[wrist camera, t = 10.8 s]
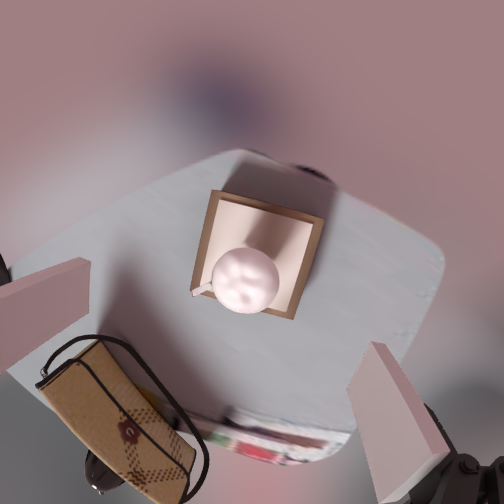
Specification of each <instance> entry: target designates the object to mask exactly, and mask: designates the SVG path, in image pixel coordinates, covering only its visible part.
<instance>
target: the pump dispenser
mask: <svg viewBox="0 0 504 504" xmlns="http://www.w3.org/2000/svg"><path fill="white" fill-rule="evenodd" d="M84 473H85V478H86V481H87V482H88V484H89V485H90V486H91V487H92V488H94V489H96V490H98V493H99V494H100V495H103V494H104V492H108V491H111V490H113V489H116V488H118V487H119V486H121V485H122V484H123V483H125V482H126V481H125V480H124V479H123V478H121V477H120V476H119V475H118V474H116V473H115V472H114V471H113V470H112V469H111V468H109V467H108V466H107V465H106V464H105V463H104V462H103V461H102V460H100V459H99V458H98V457H97V456H96V455H95V454H94V453H93V452H92V451H91V450H90V449H88V452H87V456H86V460H85V466H84Z"/></svg>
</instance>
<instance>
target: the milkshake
mask: <svg viewBox="0 0 504 504" xmlns="http://www.w3.org/2000/svg"><path fill="white" fill-rule="evenodd" d="M279 284H280V280H279V273H278V270H277V267H276V265H275V263H274V258H273V255H272V253H271V250H270V248H269V246H268V245H266V244H265V243H263V242H261V241H260V240H256V241H247V242H246V243H244V244H243V245H241V246H239V247H237V248H235V249H232V250H230V251H228V252H226V253H225V254H224V255H223V256H222V257H221V258H220V259H219V260H218V261H217V262H216V264H215V265H214V267H213V270H212V277H211V281H210V282H208V283H206V284H204V285H202V286H199V287H197V288H195V289H193V290H192V297H195V296H197V295H199V294H201V293H203V292H205V291H206V290H208V289H210V288H212V287H213V291H214V293H215V296H216V297H217V299H218V300H219V301H220V302H221V303H222V304H223V305H224V306H225V307H227V308H228V309H230V310H232V311H235V312H238V313H256V312H260V311H262V310H264V309H266V308H267V307H268V306H269V305H270V304H271V303H272V301H273V300H274V298H275V297H276V295H277V293H278V290H279Z"/></svg>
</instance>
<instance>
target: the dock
mask: <svg viewBox="0 0 504 504" xmlns="http://www.w3.org/2000/svg"><path fill="white" fill-rule="evenodd" d="M324 221H325V219H322V218H320V217H317V216H314V215H310V214H307V213H303V212H300V211H296V210H293V209H289V208H286V207H282V206H278V205H275V204H271V203H267V202H263V201H260V200H256V199H252V198H248V197H244V196H240V195H236V194H232V193H228V192H224V191H219V190H212V192H211V196H210V200H209V204H208V208H207V212H206V217H205V221H204V225H203V230H202V234H201V238H200V243H199V248H198V252H197V257H196V262H195V267H194V271H193V276H192V281H191V287H190V291H192V290H193V289H195V288H197V287H199V286H202V285H204V284H206V283H208V282H210V281H211V277H212V270H213V267H214V265H215V264H216V262H217V261H218V260H219V259H220V258H221V257H222V256H223V255H224V254H225V253H226V252H228V251H230V250H232V249H235V248H237V247H239V246H241V245H243V244H244V243H246V242H247V241H256V240H260V241H261V242H263V243H265V244H266V245H268V246H269V248H270V250H271V253H272V255H273V258H274V263H275V265H276V267H277V270H278V273H279V280H280V284H279V290H278V293H277V295H276V297H275V298H274V300H273V301H272V303H271V304H270V305H269V306H268V307H267V308H266V309H264V310H262V311H260V312H264V313H268V314H272V315H276V316H279V317H283V318H287V319H291V320H293V319H294V316H295V313H296V310H297V308H298V305H299V302H300V299H301V296H302V293H303V290H304V287H305V283H306V280H307V277H308V274H309V271H310V268H311V265H312V261H313V258H314V255H315V252H316V248H317V245H318V241H319V238H320V235H321V231H322V228H323V224H324ZM201 295H205V296H208V297H211V298H215V299H217V297H216V296H215V293H214V291H213V287H212V288H210V289H208V290H206V291H205V292H203V293H201Z"/></svg>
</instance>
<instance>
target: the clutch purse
mask: <svg viewBox="0 0 504 504" xmlns="http://www.w3.org/2000/svg"><path fill="white" fill-rule="evenodd" d="M86 339H97V340H95V341H94V342H93V343H91V344H90V345H89V346H87V347H86V348H85V349H84V350H82V351H81V352H80V353H79V354H78V355H76V356H75V357H74V358H73V359H68V360H67V361H66V362H64V363H63V364H62V365H61V366H59V367H58V368H57V369H56V370H54V371H53V372H52V373H51V374H49V375H48V372H47V370H48V368H49V366H50V364H51V363H52V361H53V360H54V359H55V358H56V357H57V356H58V355H59V354H60V353H61V352H62V351H64V350H65V349H67V348H68V347H69V346H71V345H72V344H74V343H76V342H78V341H81V340H86ZM101 340H106V341H110V342H114V343H116V344H119V345H121V346H123V347H124V348H125V349H126V350H127V351H128V352H129V353H130V354H131V355H132V356H133V357H134V358H135V359H136V361H137V362H138V363H139V364H140V365H141V366H142V368H143V369H144V370H145V371H146V372H147V374H148V375H149V376H150V377H151V378H152V380H153V381H154V382H155V383H156V385H157V386H158V387H159V388H160V390H161V391H162V392H163V393H164V395H165V396H166V397H167V399H168V400H169V401H170V403H171V404H172V405H173V407H174V408H175V409H176V411H177V412H178V413H179V414H180V416H181V417H182V418H183V420H184V421H185V422H186V424H187V425H188V427H189V428H190V430H191V431H192V433H193V434H194V436H195V437H196V439H197V441H198V442H199V444H200V446H201V448H202V451H203V454H204V466H203V470H202V473H201V476H200V478H199V480H198V482H197V484H196V485H195V487H194V488H193V489H192V491H191V492H190V493H189V494H188V495H187V492H188V489H189V486H190V473H191V471H192V467H193V465H194V462H195V458H196V450H195V449H194V448H192V447H191V446H190V445H189V444H188V443H187V442H186V441H185V440H184V439H183V438H182V437H181V436H179V435H178V434H177V433H176V431H175V430H174V429H173V428H172V427H171V426H170V425H169V424H168V423H167V422H166V421H165V420H164V419H163V418H162V417H161V416H160V415H159V414H158V413H157V412H156V411H155V409H154V408H153V407H152V406H151V405H150V404H149V403H148V402H147V400H146V399H145V398H144V397H143V396H142V395H141V393H140V392H139V391H138V390H137V389H136V387H135V386H134V385H133V384H132V382H131V381H130V380H129V379H128V377H127V376H126V375H125V374H124V372H123V371H122V370H121V368H120V367H119V366H118V364H117V363H116V362H115V360H114V359H113V358H112V356H111V355H110V353H109V352H108V351H107V349H106V348H105V346H104V345H103V343H102V342H101ZM42 370H43V371H44V373H45V374H46V375H45V374H42V373H41V371H42ZM41 371H40V373H41V375H42V376H43V378H44V377H46V378H44V379H43V380H42V381H41V382H39V383H36V384H35V386H36V388H37V389H38V390H39V392H40V393H41V394H42V396H43V397H44V398H45V400H46V401H47V402H48V403H49V405H50V406H51V407H52V408H53V410H54V411H55V412H56V413H57V415H58V416H59V417H60V418H61V419H62V420H63V421H64V423H65V424H66V425H67V426H68V427H69V428H70V429H71V431H72V432H73V433H74V434H75V435H76V436H77V437H78V438H79V439H80V440H81V441H82V442H83V443H84V444H85V445H86V446H87V447H88V448H89V449H90V450H91V451H92V452H93V453H94V454H95V455H96V456H97V457H98V458H99V459H100V460H102V461H103V462H104V463H105V464H106V465H107V466H108V467H109V468H111V469H112V470H113V471H114V472H115V473H116V474H118V475H119V476H120V477H121V478H123V479H124V480H125V481H126V482H128V483H129V484H130V485H132V486H133V487H134V488H136V489H137V490H138V491H140V492H141V493H142V494H144V495H145V496H147V497H148V498H149V499H151V500H152V501H154V502H156V503H157V504H183V503H185V502H187V501H189V500H190V499H191V498H192V497H193V496H194V495H195V494H196V493H197V491H198V490H199V489H200V487H201V486H202V484H203V482H204V480H205V478H206V475H207V472H208V468H209V453H208V450H207V447H206V445H205V443H204V442H203V440H202V438H201V436H200V435H199V433H198V431H197V430H196V428H195V427H194V425H193V424H192V422H191V421H190V420H189V418H188V417H187V416H186V414H185V413H184V412H183V410H182V409H181V408H180V406H179V405H178V404H177V402H176V401H175V400H174V398H173V397H172V396H171V394H170V393H169V392H168V391H167V390H166V388H165V387H164V386H163V385H162V383H161V382H160V381H159V380H158V378H157V377H156V376H155V374H154V373H153V372H152V371H151V369H150V368H149V367H148V366H147V365H146V363H145V362H144V361H143V360H142V359H141V357H140V356H139V355H138V354H137V353H136V352H135V351H134V350H133V348H132V347H131V346H129V345H128V344H127V343H125V342H123V341H121V340H119V339H116V338H113V337H109V336H104V335H95V334H92V335H83V336H79V337H76V338H74V339H72V340H70V341H69V342H67V343H66V344H65V345H63V346H62V347H60V348H59V349H58V350H57V351H55V352H54V353H53V354H52V356H51V357H50V358H49V360H48V361H47V363H46V365H45V366H44V367H43V368H42V369H41ZM44 375H45V376H44ZM47 375H48V376H47ZM186 495H187V496H186Z"/></svg>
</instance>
